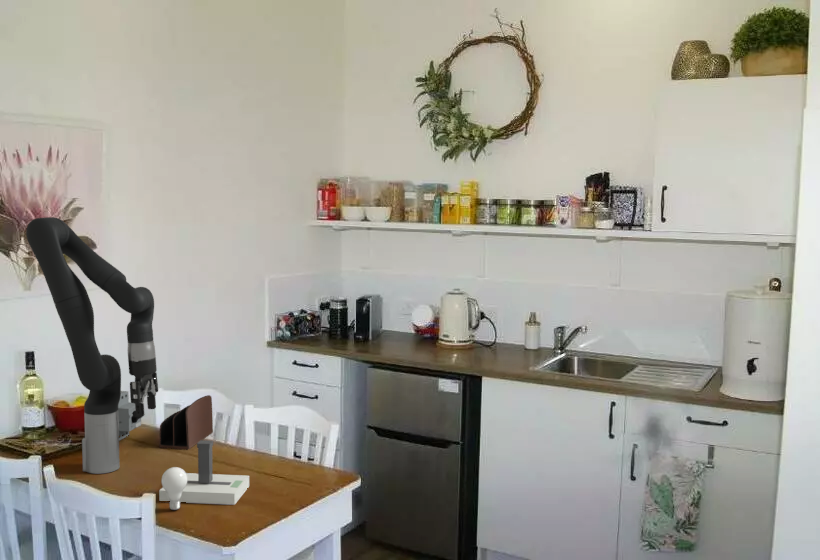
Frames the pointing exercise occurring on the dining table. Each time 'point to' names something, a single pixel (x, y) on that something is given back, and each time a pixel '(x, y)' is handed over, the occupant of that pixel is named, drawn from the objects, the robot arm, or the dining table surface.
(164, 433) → the letter holder
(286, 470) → the dining table surface
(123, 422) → the circuit breaker
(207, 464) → the handle
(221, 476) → the breaker panel
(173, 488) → the lightbulb
